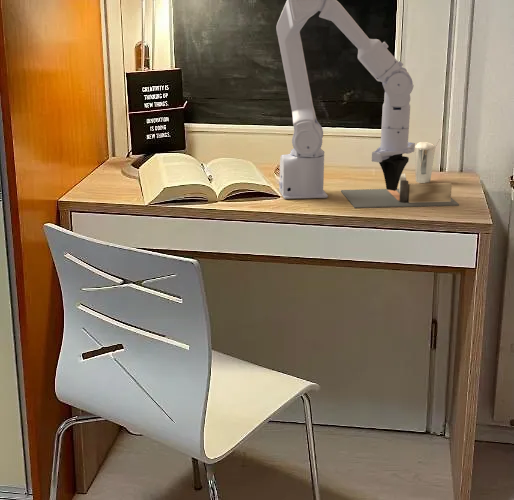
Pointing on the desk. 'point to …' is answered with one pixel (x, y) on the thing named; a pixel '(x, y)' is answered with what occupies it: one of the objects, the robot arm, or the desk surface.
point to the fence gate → (403, 177)
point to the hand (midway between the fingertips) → (391, 189)
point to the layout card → (385, 199)
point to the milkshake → (424, 161)
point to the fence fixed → (425, 192)
